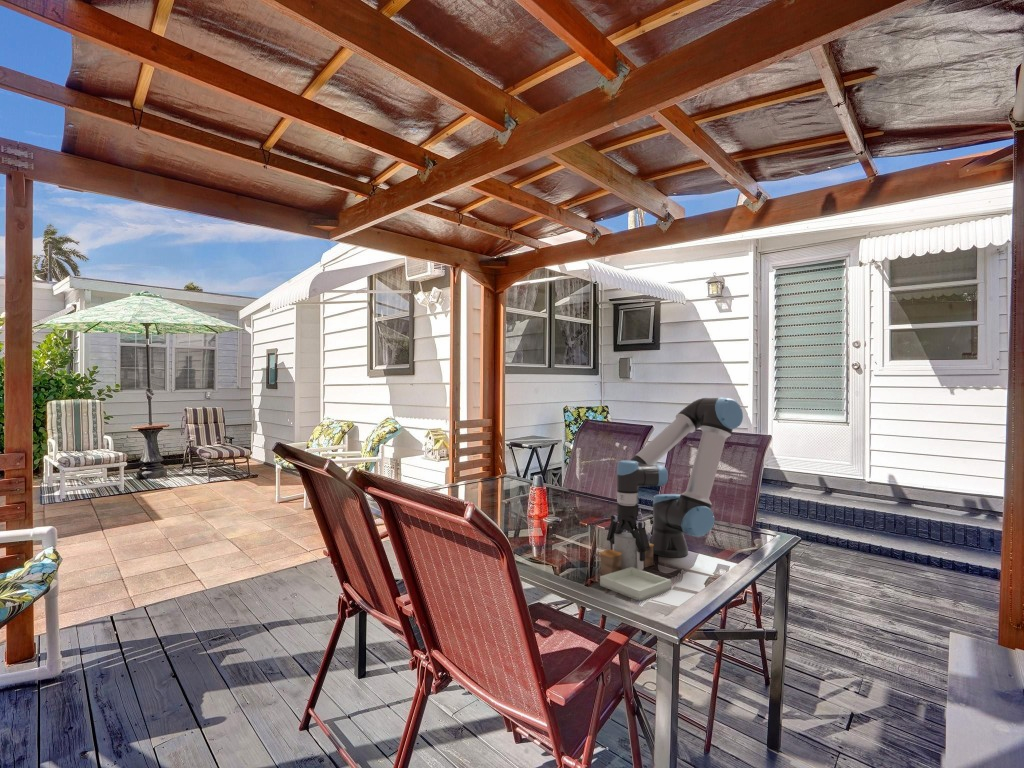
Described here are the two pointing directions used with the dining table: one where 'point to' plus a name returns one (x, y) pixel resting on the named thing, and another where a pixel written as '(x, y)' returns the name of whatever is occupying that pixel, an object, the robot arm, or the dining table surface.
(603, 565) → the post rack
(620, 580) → the tray
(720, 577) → the dining table surface
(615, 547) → the grey cylinder
